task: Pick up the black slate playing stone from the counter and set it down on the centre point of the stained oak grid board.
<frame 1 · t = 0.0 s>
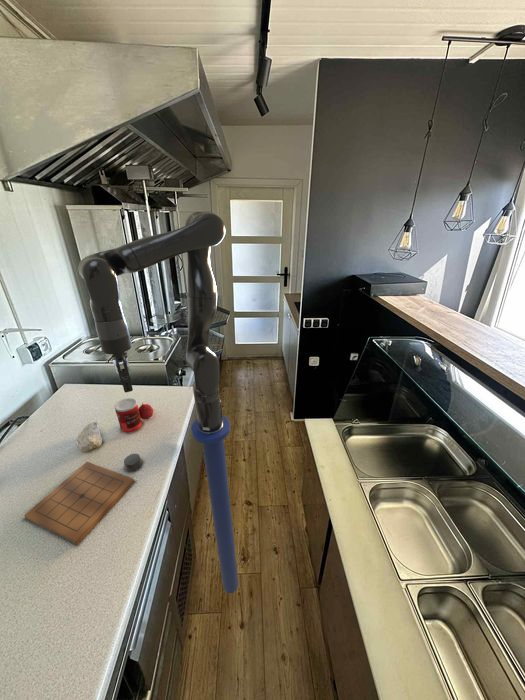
hand: (127, 384, 84), 31 cm above the countertop, tool pointing down, fingers open, 8 cm apart
grid board: (83, 499, 84), on the countertop
stone: (91, 442, 106), on the countertop
black stone: (133, 465, 95), on the countertop
canned food: (132, 426, 113), on the countertop
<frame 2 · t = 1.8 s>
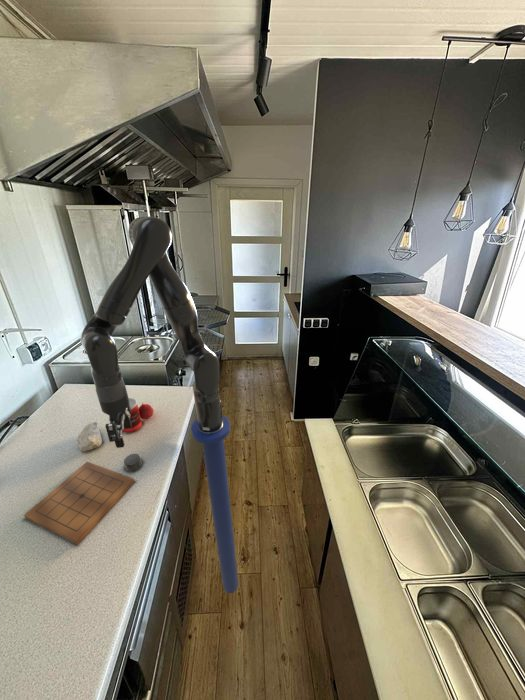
hand: (124, 436, 90), 13 cm above the countertop, tool pointing down, fingers open, 8 cm apart
nothing on the countertop moved.
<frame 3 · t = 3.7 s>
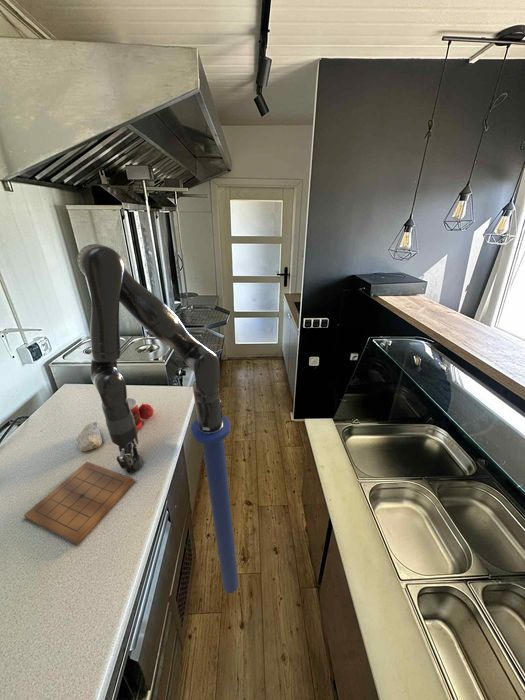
hand: (133, 464, 95), 0 cm above the countertop, tool pointing down, fingers closed on black stone, 5 cm apart
black stone: (133, 465, 95), on the countertop, touching gripper
everything else where it was.
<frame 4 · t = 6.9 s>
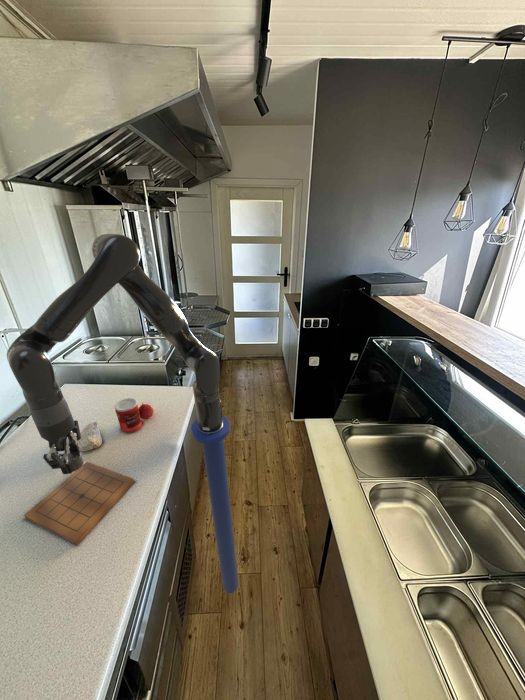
hand: (73, 464, 79), 13 cm above the countertop, tool pointing down, fingers closed on black stone, 5 cm apart
black stone: (73, 465, 79), point 13 cm above the countertop, touching gripper
everything else where it was.
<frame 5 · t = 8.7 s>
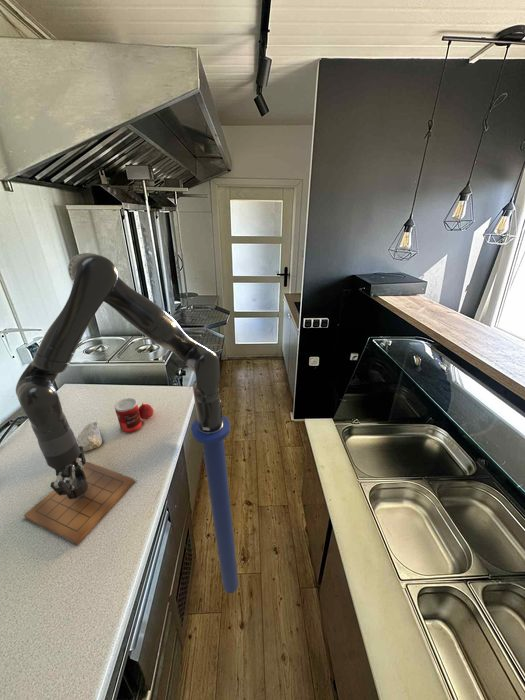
hand: (78, 488, 82), 5 cm above the countertop, tool pointing down, fingers closed on black stone, 5 cm apart
black stone: (78, 489, 83), point 4 cm above the countertop, touching gripper
everything else where it was.
when the fingers open (2 cm above the countertop, at t = 10.0 s): black stone stays where it is, resting on grid board.
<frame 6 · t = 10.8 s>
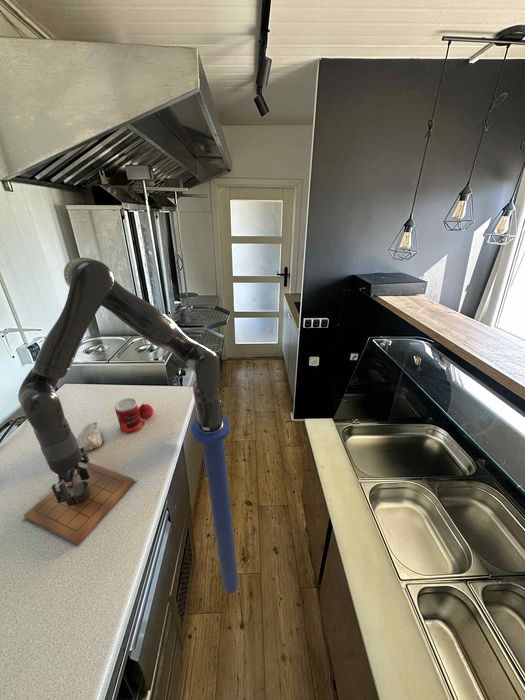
hand: (80, 490, 83), 4 cm above the countertop, tool pointing down, fingers open, 8 cm apart
black stone: (81, 495, 84), point 2 cm above the countertop, touching grid board
everything else where it was.
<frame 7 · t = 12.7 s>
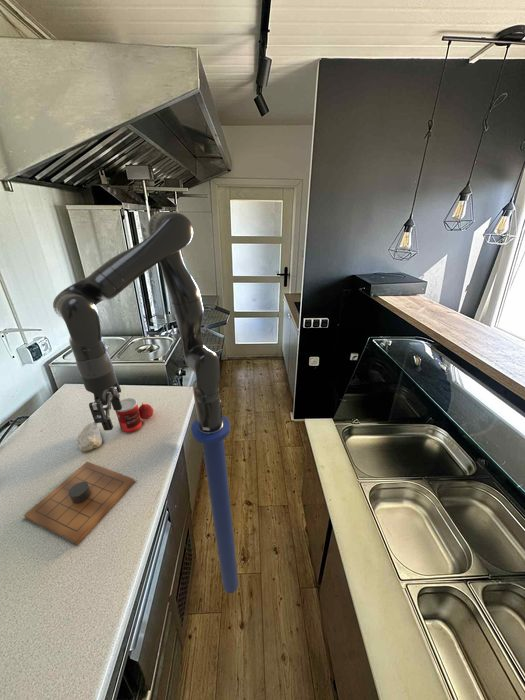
hand: (113, 418, 80), 24 cm above the countertop, tool pointing down, fingers open, 8 cm apart
nothing on the countertop moved.
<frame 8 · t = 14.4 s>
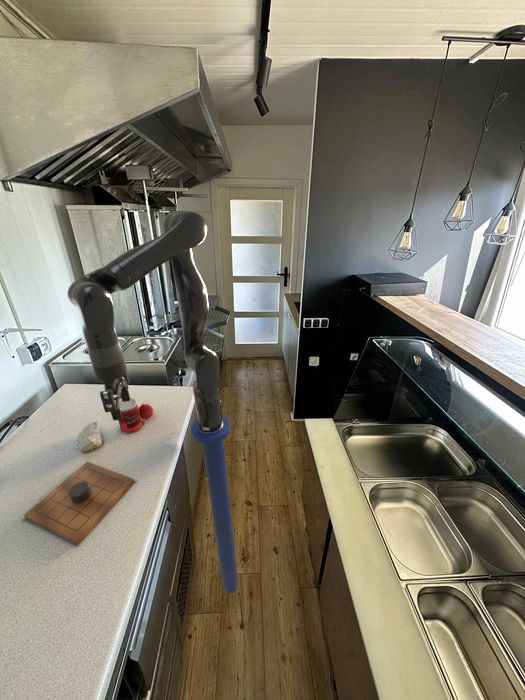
hand: (122, 409, 81), 26 cm above the countertop, tool pointing down, fingers open, 8 cm apart
nothing on the countertop moved.
at the end: black stone 0.1 cm off-centre on the grid board, point 1.6 cm above the grid board's base; black stone tilted 0°; the gripper is holding nothing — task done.
